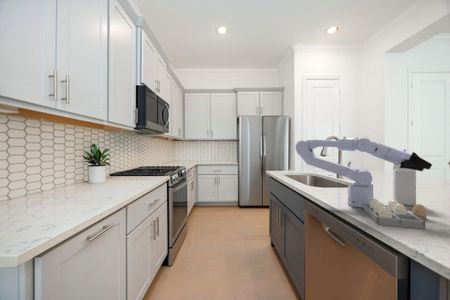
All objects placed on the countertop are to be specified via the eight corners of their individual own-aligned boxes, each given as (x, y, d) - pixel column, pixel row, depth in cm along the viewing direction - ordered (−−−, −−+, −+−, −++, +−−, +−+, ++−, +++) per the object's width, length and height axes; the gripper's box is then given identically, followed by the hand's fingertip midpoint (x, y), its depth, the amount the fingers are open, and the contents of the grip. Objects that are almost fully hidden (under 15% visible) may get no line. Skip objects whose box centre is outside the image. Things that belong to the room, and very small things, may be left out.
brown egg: (415, 218, 77) (415, 205, 77) (410, 215, 81) (410, 202, 81) (428, 219, 76) (428, 206, 76) (423, 216, 80) (423, 203, 80)
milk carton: (416, 206, 93) (415, 162, 93) (395, 204, 97) (395, 162, 97) (412, 202, 99) (412, 161, 99) (393, 200, 103) (393, 161, 103)
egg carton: (376, 223, 72) (376, 217, 72) (362, 208, 90) (362, 203, 90) (425, 228, 68) (425, 221, 68) (400, 211, 85) (400, 206, 85)
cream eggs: (380, 221, 73) (380, 207, 73) (368, 209, 88) (368, 197, 88) (417, 225, 70) (417, 210, 70) (397, 211, 85) (397, 199, 84)
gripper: (395, 141, 84) (439, 155, 77) (388, 148, 97) (425, 161, 90) (387, 157, 84) (430, 173, 78) (380, 162, 97) (417, 176, 90)
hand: (426, 168), depth 84 cm, fingers open, 7 cm apart
